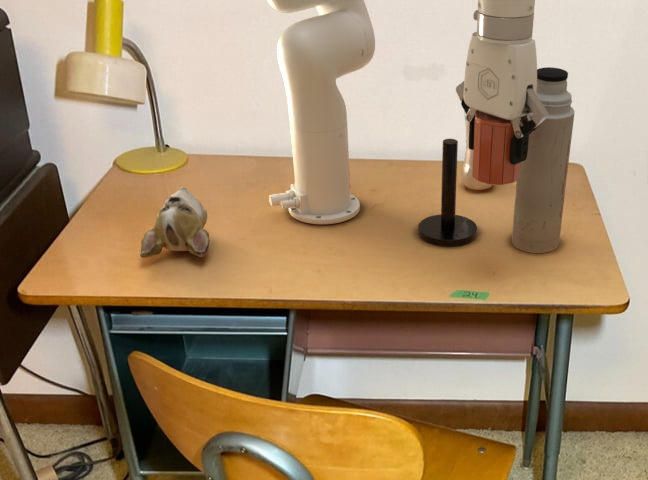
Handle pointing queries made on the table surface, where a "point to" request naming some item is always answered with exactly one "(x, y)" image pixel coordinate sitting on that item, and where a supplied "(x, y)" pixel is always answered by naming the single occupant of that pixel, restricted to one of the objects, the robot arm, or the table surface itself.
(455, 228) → the bowl
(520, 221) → the thermos bottle
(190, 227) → the ceramic sculpture
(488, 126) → the cup
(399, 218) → the table surface
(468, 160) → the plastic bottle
